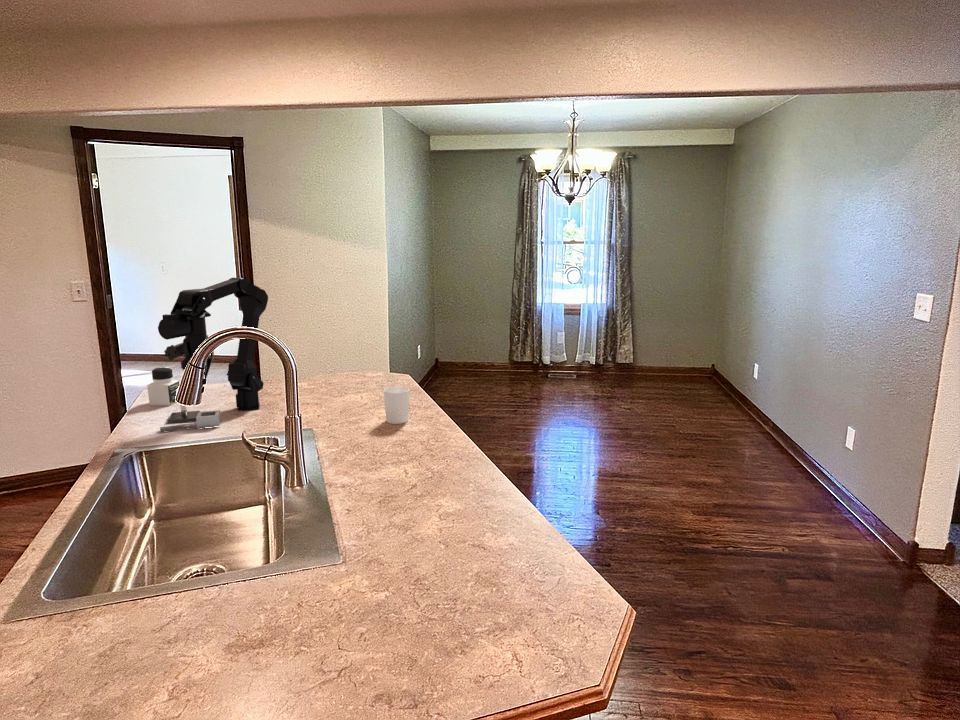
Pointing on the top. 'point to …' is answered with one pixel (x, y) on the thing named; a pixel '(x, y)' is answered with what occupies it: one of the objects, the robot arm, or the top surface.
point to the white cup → (396, 404)
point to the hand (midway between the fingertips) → (200, 385)
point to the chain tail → (177, 427)
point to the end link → (208, 419)
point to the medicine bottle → (162, 387)
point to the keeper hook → (183, 416)
